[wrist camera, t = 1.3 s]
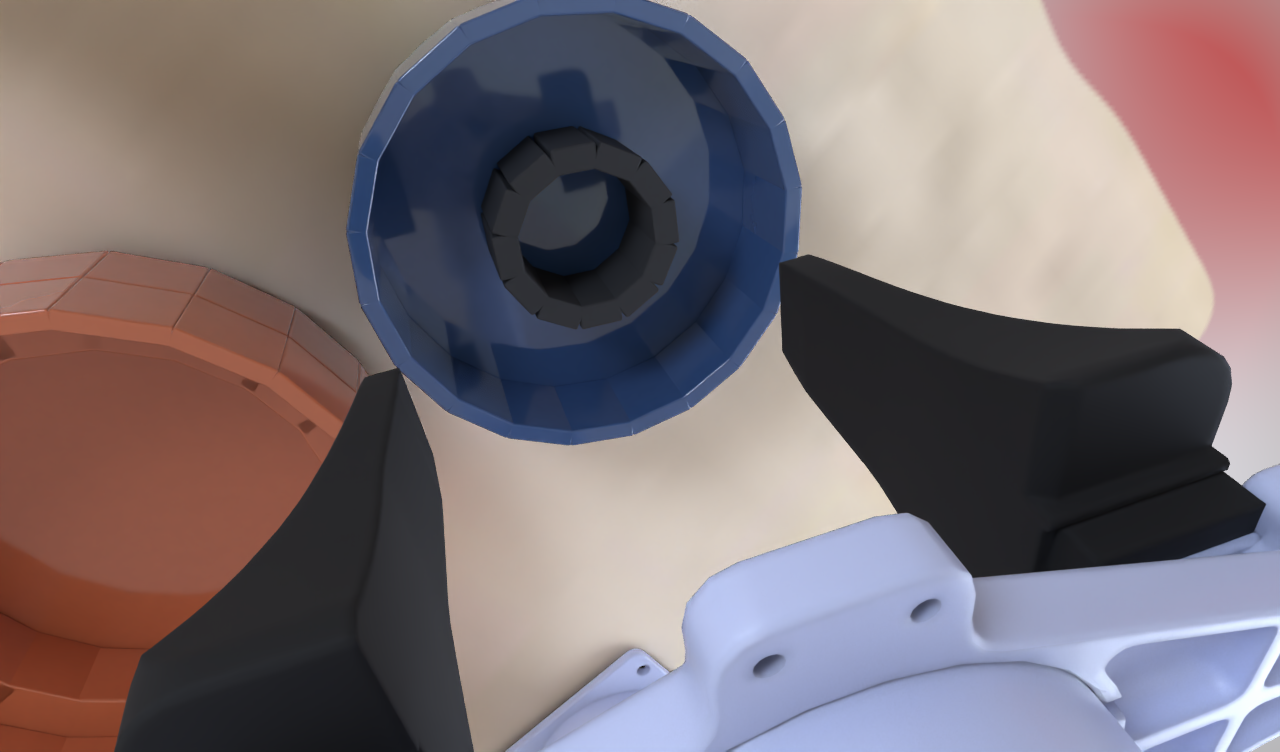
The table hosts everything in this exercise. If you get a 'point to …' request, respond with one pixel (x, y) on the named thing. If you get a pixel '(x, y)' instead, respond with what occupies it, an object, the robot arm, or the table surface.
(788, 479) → the table surface
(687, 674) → the robot arm
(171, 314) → the bowl
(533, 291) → the ring
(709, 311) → the blue round dish
